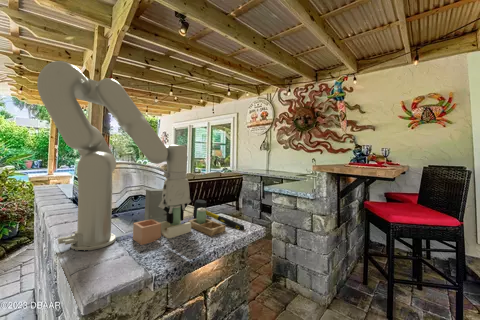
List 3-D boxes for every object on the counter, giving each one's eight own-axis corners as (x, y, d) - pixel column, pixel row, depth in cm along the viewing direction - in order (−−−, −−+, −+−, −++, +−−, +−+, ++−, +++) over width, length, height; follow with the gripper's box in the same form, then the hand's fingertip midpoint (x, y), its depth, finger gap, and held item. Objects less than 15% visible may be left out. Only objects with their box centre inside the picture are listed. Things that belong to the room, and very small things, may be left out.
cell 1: (173, 226, 78) (173, 205, 78) (167, 223, 81) (168, 204, 81) (182, 223, 81) (182, 204, 81) (176, 221, 84) (177, 202, 84)
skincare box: (148, 228, 85) (149, 191, 85) (143, 223, 91) (144, 188, 90) (168, 224, 91) (169, 189, 91) (162, 220, 96) (163, 187, 96)
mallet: (246, 230, 89) (247, 208, 89) (239, 234, 84) (240, 211, 84) (199, 216, 105) (199, 198, 105) (190, 219, 100) (191, 200, 100)
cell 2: (200, 228, 86) (201, 209, 86) (194, 225, 89) (195, 208, 89) (207, 226, 89) (208, 208, 89) (201, 223, 92) (202, 206, 92)
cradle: (168, 240, 74) (168, 227, 74) (156, 233, 81) (156, 221, 80) (190, 233, 82) (191, 221, 82) (178, 227, 88) (178, 216, 88)
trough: (210, 237, 79) (211, 230, 79) (187, 227, 89) (187, 220, 89) (225, 232, 85) (225, 225, 85) (202, 223, 95) (202, 217, 95)
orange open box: (141, 245, 70) (142, 228, 70) (132, 239, 74) (133, 222, 74) (160, 239, 75) (161, 223, 75) (151, 234, 80) (152, 218, 80)
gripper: (161, 178, 72) (160, 229, 72) (199, 175, 85) (197, 218, 85) (151, 176, 77) (150, 224, 77) (188, 174, 89) (187, 215, 90)
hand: (175, 220), depth 81 cm, fingers closed on cell 1, 4 cm apart
